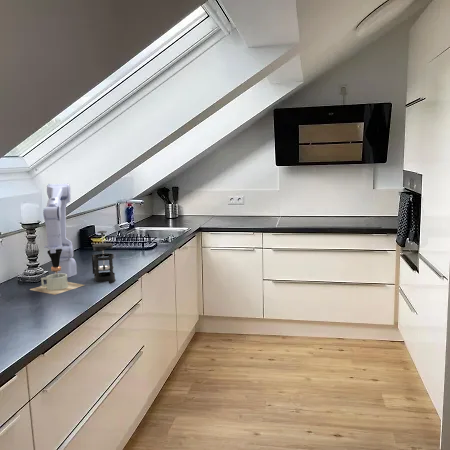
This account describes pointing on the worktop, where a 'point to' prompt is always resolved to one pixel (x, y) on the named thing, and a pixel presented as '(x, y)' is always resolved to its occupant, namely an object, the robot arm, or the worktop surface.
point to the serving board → (54, 292)
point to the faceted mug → (55, 282)
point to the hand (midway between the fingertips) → (56, 266)
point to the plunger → (56, 271)
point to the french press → (96, 268)
